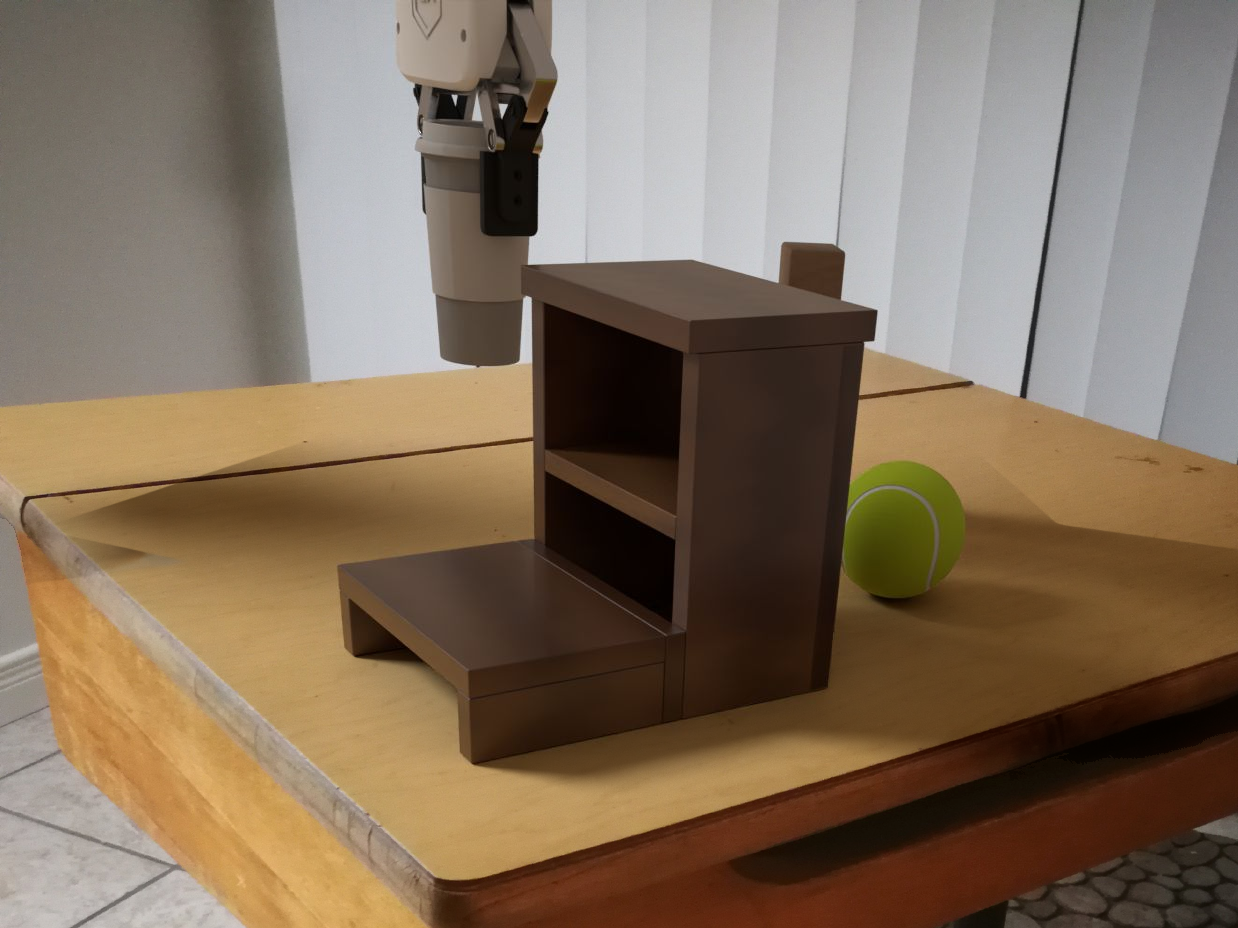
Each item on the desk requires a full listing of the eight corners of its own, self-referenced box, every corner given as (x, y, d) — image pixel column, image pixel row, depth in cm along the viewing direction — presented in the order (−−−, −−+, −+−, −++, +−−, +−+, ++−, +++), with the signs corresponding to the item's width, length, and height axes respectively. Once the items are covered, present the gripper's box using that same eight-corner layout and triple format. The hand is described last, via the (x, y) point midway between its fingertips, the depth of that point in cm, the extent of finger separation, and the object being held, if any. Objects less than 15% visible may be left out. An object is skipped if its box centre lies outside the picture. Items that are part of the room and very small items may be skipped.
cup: (463, 341, 88) (459, 117, 81) (559, 357, 86) (563, 129, 79) (397, 358, 82) (388, 119, 76) (498, 376, 80) (497, 131, 74)
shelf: (471, 764, 57) (455, 333, 49) (343, 648, 67) (311, 271, 58) (837, 686, 66) (878, 310, 58) (677, 593, 76) (692, 259, 67)
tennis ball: (842, 566, 81) (855, 440, 78) (964, 585, 80) (984, 456, 76) (812, 604, 76) (825, 470, 72) (943, 625, 74) (963, 488, 70)
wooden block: (821, 511, 90) (846, 251, 82) (770, 510, 90) (790, 248, 82) (802, 483, 96) (824, 236, 88) (754, 482, 96) (771, 234, 87)
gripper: (337, -175, 75) (356, 205, 84) (481, -196, 63) (485, 249, 72) (469, -155, 79) (473, 206, 88) (629, -172, 67) (614, 249, 76)
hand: (478, 223), depth 80 cm, fingers closed on cup, 6 cm apart
